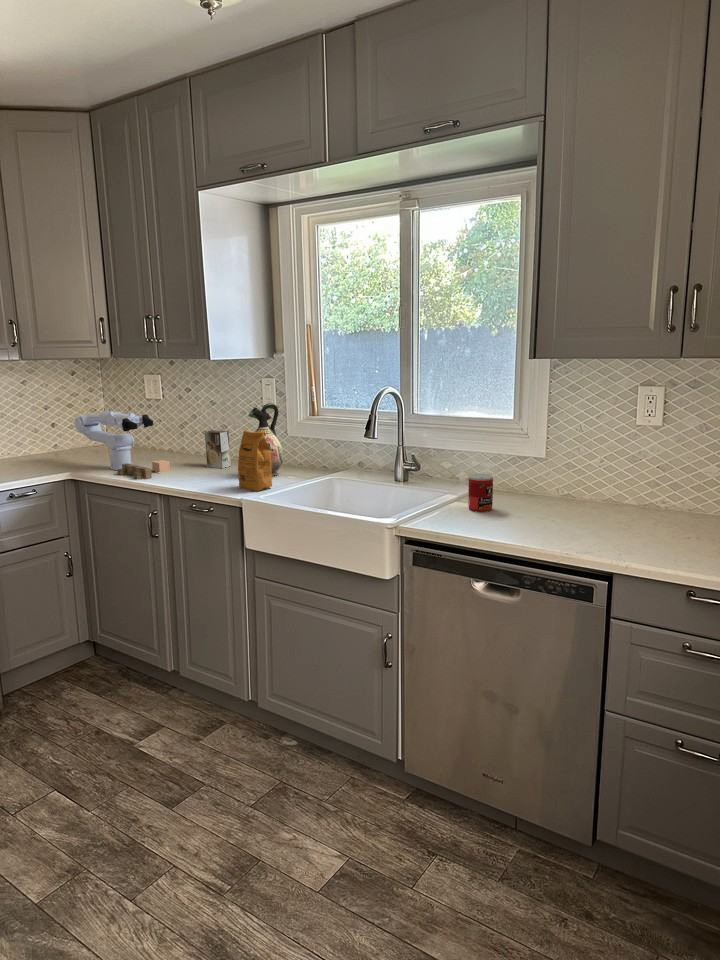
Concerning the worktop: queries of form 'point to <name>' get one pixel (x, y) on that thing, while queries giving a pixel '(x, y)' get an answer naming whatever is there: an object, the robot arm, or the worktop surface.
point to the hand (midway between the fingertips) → (144, 424)
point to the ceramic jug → (269, 434)
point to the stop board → (135, 471)
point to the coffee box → (217, 448)
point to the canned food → (480, 492)
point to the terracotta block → (161, 466)
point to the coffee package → (254, 462)
